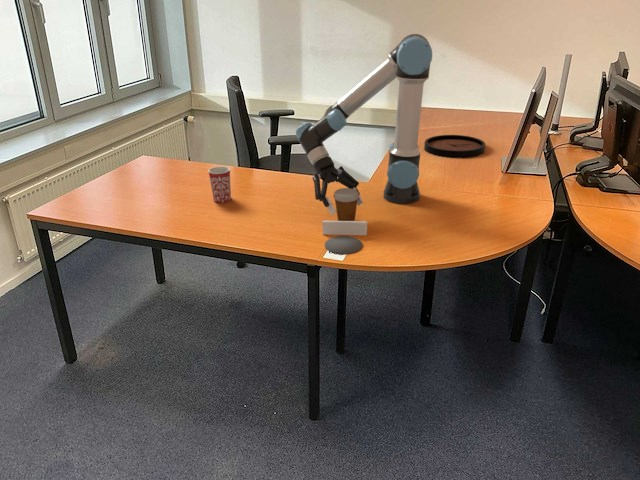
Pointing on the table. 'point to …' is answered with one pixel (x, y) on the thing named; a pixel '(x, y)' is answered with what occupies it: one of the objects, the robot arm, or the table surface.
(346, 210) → the disposable coffee cup
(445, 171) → the table surface
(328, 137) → the robot arm
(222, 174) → the mug
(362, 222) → the low wall
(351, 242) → the rubber pad
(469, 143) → the wall clock
